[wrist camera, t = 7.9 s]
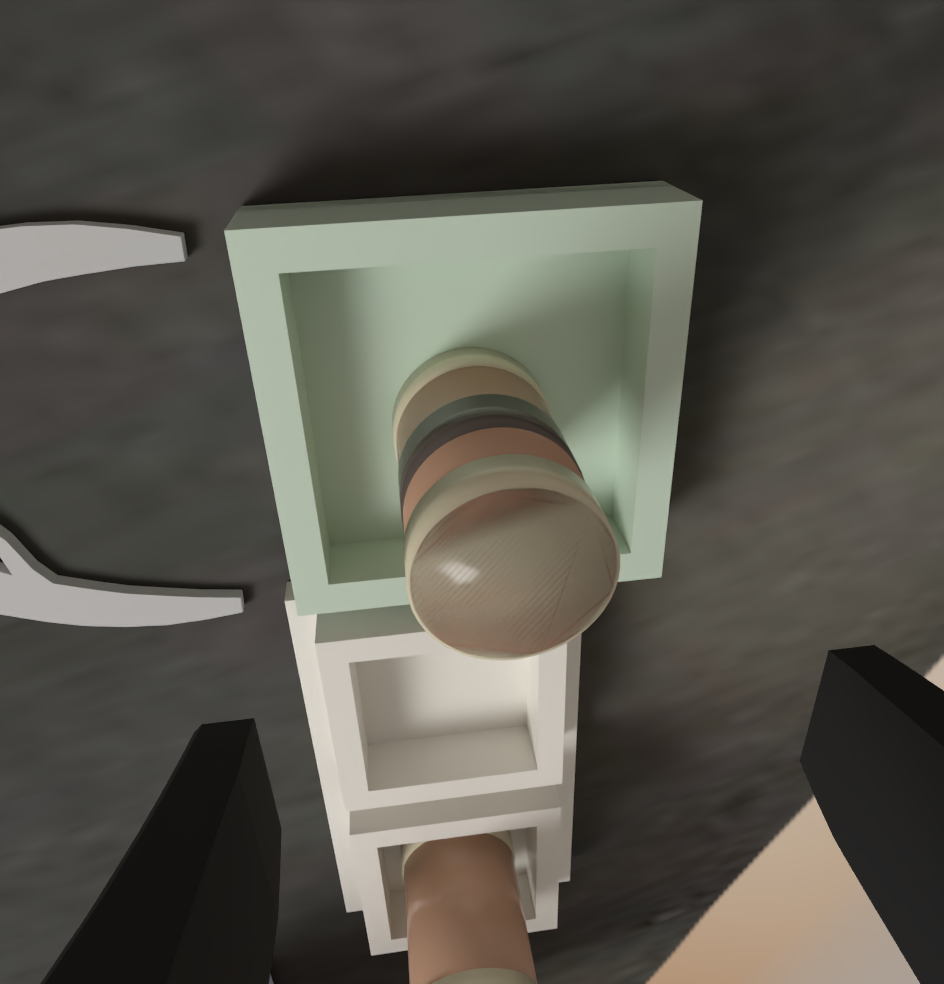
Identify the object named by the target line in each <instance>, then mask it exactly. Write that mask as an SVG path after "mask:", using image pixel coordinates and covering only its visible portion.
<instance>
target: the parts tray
mask: <svg viewBox="0 0 944 984" xmlns="http://www.w3.org/2000/svg"><path fill="white" fill-rule="evenodd" d="M702 202H703V200H701V199H699V198H697V197H695V196H693V195H691V194H689V193H687V192H684V191H682V190H680V189H678V188H676V187H674V186H672V185H670V184H668V183H666V182H664V181H650V182H633V183H617V184H600V185H583V186H567V187H550V188H533V189H517V190H500V191H484V192H467V193H450V194H434V195H417V196H401V197H384V198H367V199H351V200H334V201H318V202H301V203H284V204H268V205H251V206H240V207H239V209H238V210H237V212H236V213H235V215H234V216H233V218H232V219H231V221H230V222H229V224H228V226H227V227H226V229H225V230H224V232H225V237H226V243H227V248H228V253H229V258H230V264H231V269H232V274H233V279H234V285H235V290H236V295H237V300H238V306H239V311H240V316H241V321H242V327H243V332H244V337H245V342H246V347H247V353H248V358H249V363H250V368H251V374H252V379H253V384H254V389H255V395H256V400H257V405H258V410H259V416H260V421H261V426H262V431H263V437H264V442H265V447H266V452H267V458H268V463H269V468H270V473H271V478H272V484H273V489H274V494H275V499H276V505H277V510H278V515H279V520H280V526H281V531H282V536H283V541H284V547H285V552H286V557H287V562H288V568H289V573H290V578H291V583H292V588H293V594H294V599H295V604H296V609H297V615H298V616H305V615H314V614H324V613H333V612H342V611H352V610H361V609H370V608H380V607H389V606H398V605H408V604H410V603H409V600H408V594H407V587H406V576H405V565H404V551H403V542H404V535H405V533H404V530H403V525H402V518H401V507H400V496H399V485H398V462H397V459H396V456H395V450H394V441H393V429H392V415H393V408H394V404H395V400H396V398H397V395H398V393H399V391H400V389H401V387H402V385H403V384H404V382H405V381H406V380H407V378H408V377H409V376H410V375H411V373H412V372H413V371H415V370H416V369H417V368H418V367H419V366H420V365H421V364H423V363H424V362H426V361H427V360H429V359H430V358H432V357H434V356H436V355H438V354H441V353H443V352H445V351H449V350H453V349H456V348H464V347H482V348H489V349H493V350H497V351H500V352H502V353H505V354H507V355H509V356H511V357H512V358H514V359H516V360H517V361H519V362H520V363H521V364H522V365H524V366H525V367H526V368H527V369H528V370H529V371H530V373H531V374H532V375H533V377H534V378H535V379H536V381H537V383H538V385H539V387H540V389H541V391H542V393H543V395H544V397H545V399H546V401H547V403H548V405H549V407H550V410H551V412H552V416H553V420H554V422H555V423H556V425H557V426H558V427H559V429H560V431H561V433H562V434H563V436H564V438H565V440H566V442H567V444H568V446H569V448H570V450H571V452H572V454H573V456H574V458H575V460H576V462H577V464H578V466H579V468H580V470H581V472H582V475H583V478H584V480H585V483H586V484H587V485H588V486H589V488H590V489H591V490H592V492H593V493H594V495H595V497H596V499H597V501H598V503H599V505H600V507H601V509H602V511H603V512H604V514H605V516H606V518H607V520H608V522H609V524H610V526H611V528H612V530H613V532H614V534H615V537H616V540H617V543H618V546H619V552H620V572H619V579H618V582H622V581H632V580H641V579H650V578H660V577H661V575H662V566H663V557H664V548H665V539H666V530H667V521H668V512H669V503H670V493H671V484H672V475H673V466H674V457H675V448H676V439H677V430H678V421H679V411H680V402H681V393H682V384H683V375H684V366H685V357H686V348H687V339H688V330H689V320H690V311H691V302H692V293H693V284H694V275H695V266H696V257H697V248H698V238H699V229H700V220H701V211H702Z"/></svg>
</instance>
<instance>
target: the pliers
mask: <svg viewBox="0 0 944 984" xmlns="http://www.w3.org/2000/svg"><path fill="white" fill-rule="evenodd" d="M187 257H188V255H187V249H186V243H185V236H184V233H182V232H175V231H169V230H162V229H155V228H148V227H142V226H135V225H126V224H114V223H103V222H91V221H53V222H26V223H19V224H11V225H4V226H0V293H3V292H7V291H10V290H14V289H17V288H21V287H25V286H28V285H32V284H36V283H39V282H43V281H47V280H53V279H59V278H65V277H71V276H76V275H82V274H88V273H95V272H101V271H107V270H114V269H120V268H127V267H133V266H142V265H152V264H162V263H172V262H181V261H185V260H186V259H187ZM0 558H1V559H2V561H3V562H4V563H2V562H0V614H1V615H7V616H13V617H19V618H25V619H32V620H38V621H44V622H53V623H63V624H72V625H81V626H112V627H134V626H156V625H170V624H177V623H185V622H192V621H199V620H205V619H211V618H216V617H221V616H226V615H231V614H236V613H242V612H243V609H244V599H243V593H242V590H224V589H185V588H165V587H148V586H131V585H122V584H115V583H107V582H100V581H93V580H86V579H80V578H73V577H67V576H60V575H57V574H55V573H54V572H53V571H51V570H50V569H48V568H47V567H46V566H44V565H43V564H41V563H40V562H38V561H37V560H36V559H35V558H34V557H33V555H32V554H31V553H30V552H29V551H28V550H27V549H26V548H25V547H24V546H23V545H22V544H21V542H20V541H19V540H18V539H17V538H16V537H15V536H14V535H13V534H12V533H11V532H10V531H9V530H7V529H6V528H5V527H3V526H2V525H1V524H0Z"/></svg>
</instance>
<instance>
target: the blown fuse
mask: <svg viewBox="0 0 944 984" xmlns="http://www.w3.org/2000/svg"><path fill="white" fill-rule="evenodd" d="M392 429H393V441H394V450H395V456H396V459H397V462H398V485H399V496H400V507H401V518H402V525H403V530H404V533H405V535H404V542H403V551H404V565H405V576H406V587H407V594H408V600H409V603H410V606H411V609H412V612H413V613H414V615H415V617H416V619H417V621H418V622H419V623H420V625H421V626H422V627H423V629H424V630H425V631H426V632H427V633H428V634H429V635H430V636H431V637H432V638H434V639H435V640H436V641H438V642H439V643H440V644H442V645H443V646H445V647H447V648H449V649H451V650H453V651H455V652H458V653H460V654H463V655H466V656H470V657H474V658H479V659H486V660H501V661H503V660H516V659H523V658H529V657H532V656H536V655H540V654H543V653H546V652H548V651H551V650H554V649H556V648H558V647H560V646H562V645H564V644H566V643H567V642H569V641H571V640H572V639H574V638H576V637H577V636H578V635H580V634H581V633H582V632H583V631H585V630H586V629H587V628H588V627H589V626H590V625H591V624H592V623H593V622H594V621H596V619H597V618H598V617H599V616H600V614H601V613H602V612H603V611H604V609H605V608H606V606H607V605H608V603H609V601H610V600H611V597H612V595H613V593H614V591H615V588H616V585H617V582H618V579H619V572H620V552H619V546H618V543H617V540H616V537H615V534H614V532H613V530H612V528H611V526H610V524H609V522H608V520H607V518H606V516H605V514H604V512H603V511H602V509H601V507H600V505H599V503H598V501H597V499H596V497H595V495H594V493H593V492H592V490H591V489H590V488H589V486H588V485H587V484H586V483H585V480H584V478H583V475H582V472H581V470H580V468H579V466H578V464H577V462H576V460H575V458H574V456H573V454H572V452H571V450H570V448H569V446H568V444H567V442H566V440H565V438H564V436H563V434H562V433H561V431H560V429H559V427H558V426H557V425H556V423H555V422H554V420H553V416H552V412H551V410H550V407H549V405H548V403H547V401H546V399H545V397H544V395H543V393H542V391H541V389H540V387H539V385H538V383H537V381H536V379H535V378H534V377H533V375H532V374H531V373H530V371H529V370H528V369H527V368H526V367H525V366H524V365H522V364H521V363H520V362H519V361H517V360H516V359H514V358H512V357H511V356H509V355H507V354H505V353H502V352H500V351H497V350H493V349H489V348H482V347H464V348H456V349H453V350H449V351H445V352H443V353H441V354H438V355H436V356H434V357H432V358H430V359H429V360H427V361H426V362H424V363H423V364H421V365H420V366H419V367H418V368H417V369H416V370H415V371H413V372H412V373H411V375H410V376H409V377H408V378H407V380H406V381H405V382H404V384H403V385H402V387H401V389H400V391H399V393H398V395H397V398H396V400H395V404H394V408H393V415H392Z"/></svg>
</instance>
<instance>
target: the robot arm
mask: <svg viewBox="0 0 944 984" xmlns="http://www.w3.org/2000/svg"><path fill="white" fill-rule="evenodd" d="M800 763H801V765H802V767H803V770H804V772H805V774H806V777H807V779H808V781H809V784H810V786H811V788H812V791H813V793H814V795H815V798H816V800H817V802H818V805H819V807H820V809H821V811H822V813H823V815H824V818H825V820H826V822H827V824H828V826H829V828H830V830H831V832H832V835H833V837H834V839H835V841H836V842H837V844H838V846H839V848H840V849H841V851H842V853H843V855H844V856H845V858H846V860H847V861H848V863H849V865H850V866H851V868H852V870H853V872H854V873H855V875H856V877H857V878H858V880H859V882H860V883H861V885H862V887H863V889H864V890H865V892H866V894H867V895H868V897H869V899H870V900H871V902H872V904H873V906H874V907H875V909H876V910H877V912H878V914H879V915H880V917H881V919H882V921H883V922H884V924H885V925H886V927H887V929H888V931H889V932H890V934H891V936H892V937H893V939H894V940H895V942H896V944H897V946H898V947H899V949H900V951H901V952H902V954H903V955H904V957H905V959H906V961H907V962H908V964H909V965H910V967H911V969H912V970H913V972H914V974H915V976H916V977H917V979H918V980H919V982H920V984H944V691H943V690H942V689H940V688H938V687H937V686H936V685H934V684H933V683H931V682H930V681H928V680H927V679H925V678H924V677H922V676H921V675H919V674H918V673H916V672H915V671H913V670H912V669H910V668H909V667H907V666H906V665H904V664H903V663H901V662H900V661H898V660H897V659H895V658H894V657H892V656H891V655H889V654H887V653H886V652H884V651H883V650H881V649H879V648H878V647H876V646H875V645H871V646H863V647H854V648H846V649H837V650H829V651H828V655H827V659H826V663H825V667H824V671H823V674H822V678H821V682H820V686H819V690H818V694H817V697H816V701H815V705H814V709H813V713H812V717H811V720H810V724H809V728H808V732H807V736H806V739H805V743H804V747H803V751H802V755H801V759H800ZM280 857H281V825H280V821H279V817H278V813H277V809H276V805H275V801H274V797H273V793H272V789H271V785H270V781H269V777H268V773H267V769H266V765H265V761H264V757H263V753H262V749H261V745H260V741H259V736H258V732H257V728H256V724H255V720H254V718H252V719H244V720H235V721H227V722H218V723H210V724H202V725H201V726H200V727H199V728H198V729H197V730H196V731H195V732H194V734H193V736H192V738H191V740H190V741H189V743H188V745H187V747H186V749H185V751H184V753H183V755H182V757H181V758H180V760H179V762H178V764H177V766H176V768H175V769H174V771H173V773H172V775H171V777H170V779H169V780H168V782H167V784H166V786H165V788H164V789H163V791H162V793H161V795H160V796H159V798H158V800H157V802H156V803H155V805H154V807H153V809H152V810H151V812H150V814H149V815H148V817H147V819H146V821H145V822H144V824H143V826H142V827H141V829H140V831H139V833H138V834H137V836H136V838H135V839H134V841H133V842H132V844H131V846H130V847H129V849H128V851H127V852H126V854H125V855H124V857H123V859H122V860H121V862H120V863H119V865H118V867H117V868H116V870H115V872H114V873H113V875H112V876H111V878H110V880H109V881H108V883H107V884H106V886H105V888H104V889H103V891H102V893H101V894H100V896H99V897H98V899H97V901H96V902H95V904H94V905H93V907H92V908H91V910H90V911H89V913H88V914H87V916H86V918H85V919H84V921H83V922H82V924H81V925H80V926H79V928H78V929H77V931H76V932H75V934H74V935H73V937H72V938H71V940H70V941H69V943H68V944H67V946H66V947H65V949H64V950H63V951H62V953H61V954H60V956H59V957H58V959H57V960H56V962H55V963H54V965H53V966H52V968H51V969H50V971H49V972H48V973H47V975H46V976H45V978H44V979H43V981H42V982H41V984H273V980H272V977H271V974H270V972H271V965H272V958H273V950H274V943H275V936H276V928H277V921H278V908H279V885H280Z"/></svg>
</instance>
